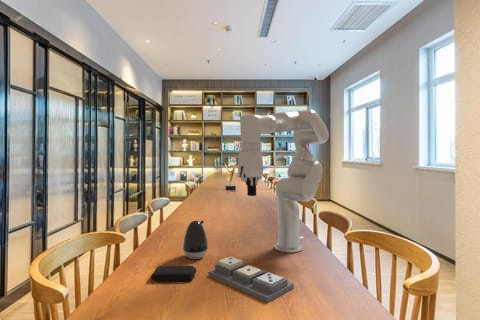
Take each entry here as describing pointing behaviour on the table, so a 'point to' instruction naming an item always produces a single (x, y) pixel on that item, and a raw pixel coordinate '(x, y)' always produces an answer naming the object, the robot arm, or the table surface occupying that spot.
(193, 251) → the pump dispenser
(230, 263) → the tile two
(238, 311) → the table surface
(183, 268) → the carrying case or bag
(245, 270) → the tile one
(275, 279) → the tile three
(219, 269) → the button board
